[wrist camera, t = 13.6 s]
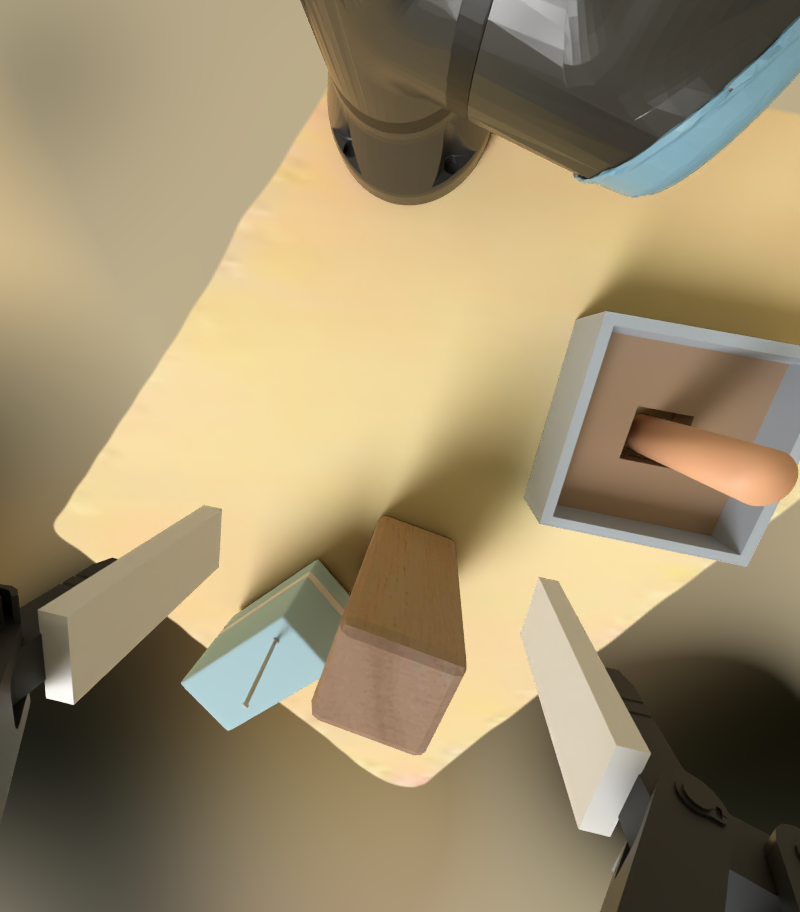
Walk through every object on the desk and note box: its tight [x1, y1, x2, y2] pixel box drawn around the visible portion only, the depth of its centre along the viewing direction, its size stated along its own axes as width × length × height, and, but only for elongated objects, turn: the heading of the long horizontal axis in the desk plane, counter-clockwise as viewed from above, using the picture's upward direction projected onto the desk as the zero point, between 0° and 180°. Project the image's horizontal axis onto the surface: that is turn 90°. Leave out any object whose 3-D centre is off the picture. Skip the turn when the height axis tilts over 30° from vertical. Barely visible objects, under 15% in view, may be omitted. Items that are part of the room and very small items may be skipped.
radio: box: [182, 560, 350, 730], centre depth 41 cm, size 16×9×20 cm, turn 128°
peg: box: [624, 414, 798, 506], centre depth 33 cm, size 4×4×16 cm
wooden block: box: [312, 516, 466, 755], centre depth 37 cm, size 10×10×20 cm
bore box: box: [524, 311, 800, 567], centre depth 37 cm, size 20×20×7 cm
